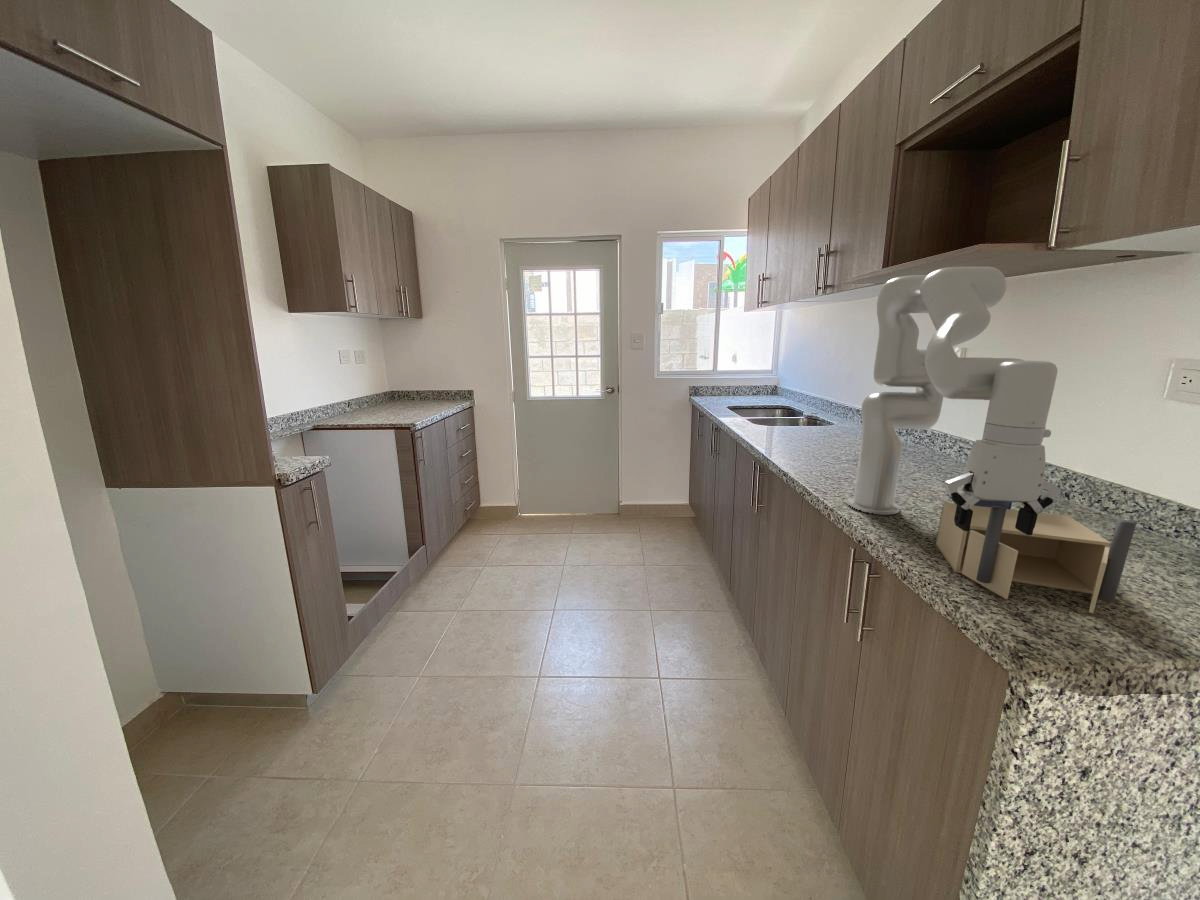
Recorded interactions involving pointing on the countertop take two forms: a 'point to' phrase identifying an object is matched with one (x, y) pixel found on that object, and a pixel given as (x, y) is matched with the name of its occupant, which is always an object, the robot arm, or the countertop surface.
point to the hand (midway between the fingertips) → (992, 530)
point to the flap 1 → (990, 556)
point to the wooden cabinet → (1032, 548)
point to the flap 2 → (1113, 564)
